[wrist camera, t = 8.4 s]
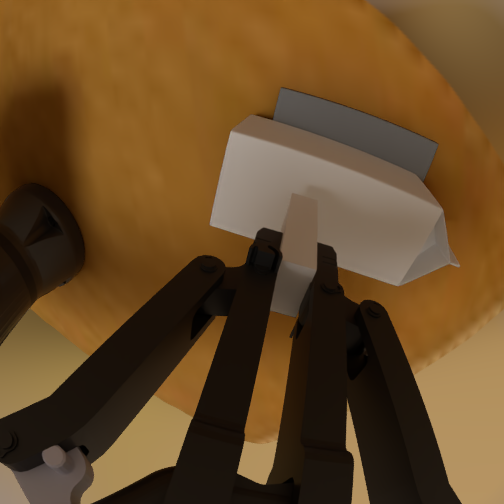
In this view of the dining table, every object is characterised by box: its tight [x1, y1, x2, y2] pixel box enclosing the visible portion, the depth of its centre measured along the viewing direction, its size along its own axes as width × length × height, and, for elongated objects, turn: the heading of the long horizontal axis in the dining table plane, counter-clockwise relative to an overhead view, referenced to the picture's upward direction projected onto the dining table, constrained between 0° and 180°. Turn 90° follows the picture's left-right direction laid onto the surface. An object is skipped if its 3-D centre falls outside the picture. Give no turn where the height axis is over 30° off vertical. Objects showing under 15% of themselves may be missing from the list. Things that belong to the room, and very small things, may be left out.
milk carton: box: [210, 114, 460, 286], centre depth 23 cm, size 7×7×19 cm
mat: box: [273, 87, 439, 182], centre depth 26 cm, size 14×12×1 cm
